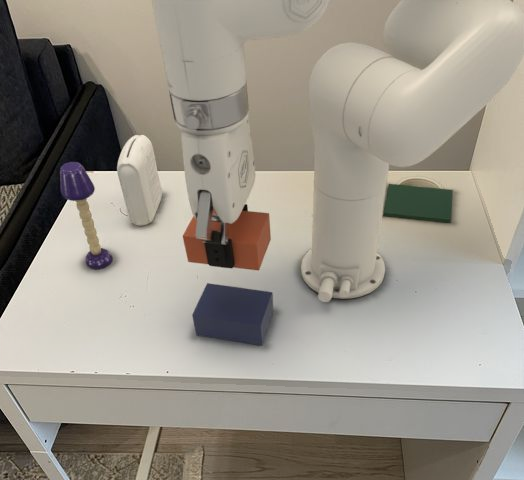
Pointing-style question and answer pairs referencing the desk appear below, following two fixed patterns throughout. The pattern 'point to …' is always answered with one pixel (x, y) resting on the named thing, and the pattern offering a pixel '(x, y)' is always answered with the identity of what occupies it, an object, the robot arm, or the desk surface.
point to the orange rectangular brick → (235, 240)
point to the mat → (418, 203)
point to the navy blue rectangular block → (233, 313)
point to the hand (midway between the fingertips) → (229, 246)
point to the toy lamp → (84, 210)
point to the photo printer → (139, 180)
